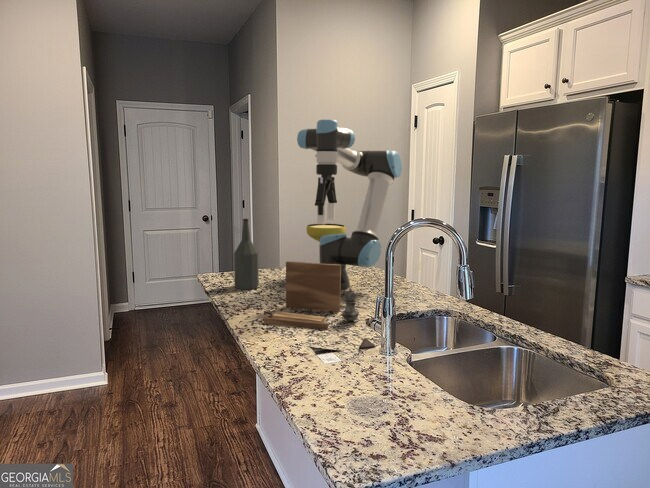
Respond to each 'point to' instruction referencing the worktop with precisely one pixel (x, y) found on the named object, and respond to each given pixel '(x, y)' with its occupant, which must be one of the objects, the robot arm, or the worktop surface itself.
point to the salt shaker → (350, 307)
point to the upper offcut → (298, 317)
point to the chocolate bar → (317, 351)
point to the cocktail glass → (324, 230)
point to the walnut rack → (311, 291)
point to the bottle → (246, 262)
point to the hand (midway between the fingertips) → (326, 222)
